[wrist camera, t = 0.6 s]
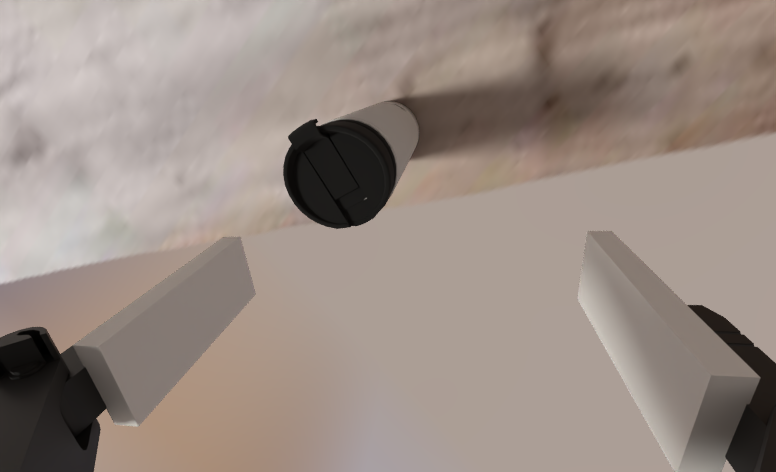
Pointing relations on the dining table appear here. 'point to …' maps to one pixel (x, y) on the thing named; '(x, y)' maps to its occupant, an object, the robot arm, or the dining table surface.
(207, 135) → the dining table surface
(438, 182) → the dining table surface
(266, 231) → the dining table surface
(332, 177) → the travel mug
